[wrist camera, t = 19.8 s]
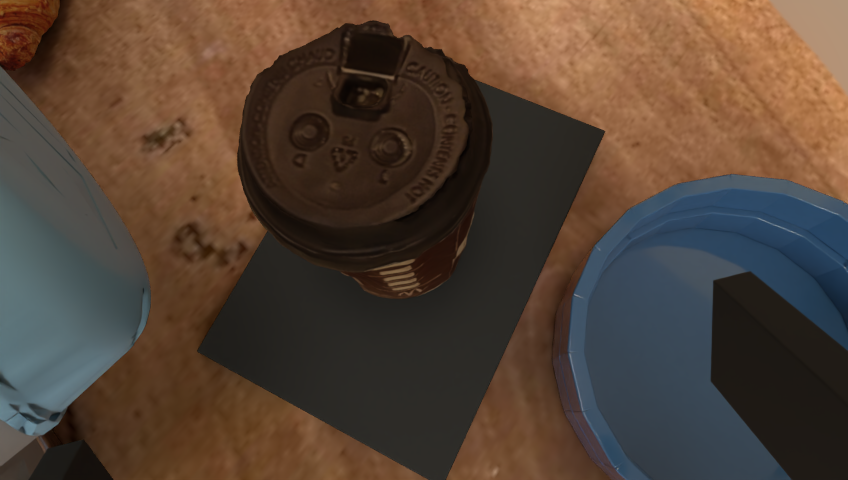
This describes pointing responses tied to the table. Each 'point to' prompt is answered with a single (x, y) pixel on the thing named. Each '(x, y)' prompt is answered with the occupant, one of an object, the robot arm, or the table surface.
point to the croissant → (23, 29)
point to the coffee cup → (367, 157)
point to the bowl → (688, 321)
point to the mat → (412, 306)
